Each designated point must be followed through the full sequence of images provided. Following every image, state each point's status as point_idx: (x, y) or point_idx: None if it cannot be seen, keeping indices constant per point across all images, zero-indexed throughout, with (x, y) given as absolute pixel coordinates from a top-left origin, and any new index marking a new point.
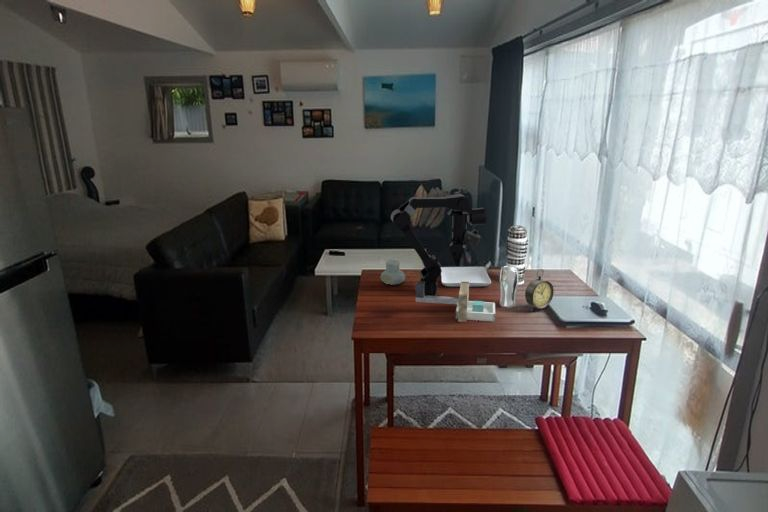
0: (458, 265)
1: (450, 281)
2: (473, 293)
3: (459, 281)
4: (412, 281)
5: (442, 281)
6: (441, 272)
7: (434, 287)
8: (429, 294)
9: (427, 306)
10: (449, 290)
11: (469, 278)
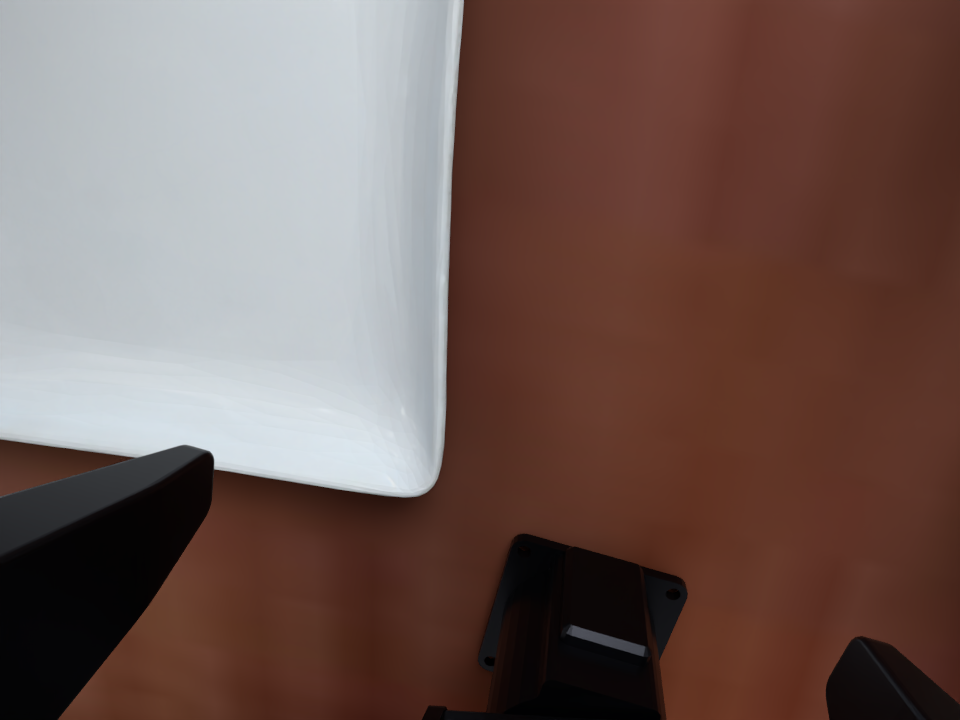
0: (893, 665)
1: (245, 335)
2: (658, 88)
3: (234, 216)
4: (239, 678)
5: (363, 479)
6: (44, 428)
7: (652, 646)
8: (656, 633)
9: (949, 693)
10: (509, 390)
11: (102, 41)
